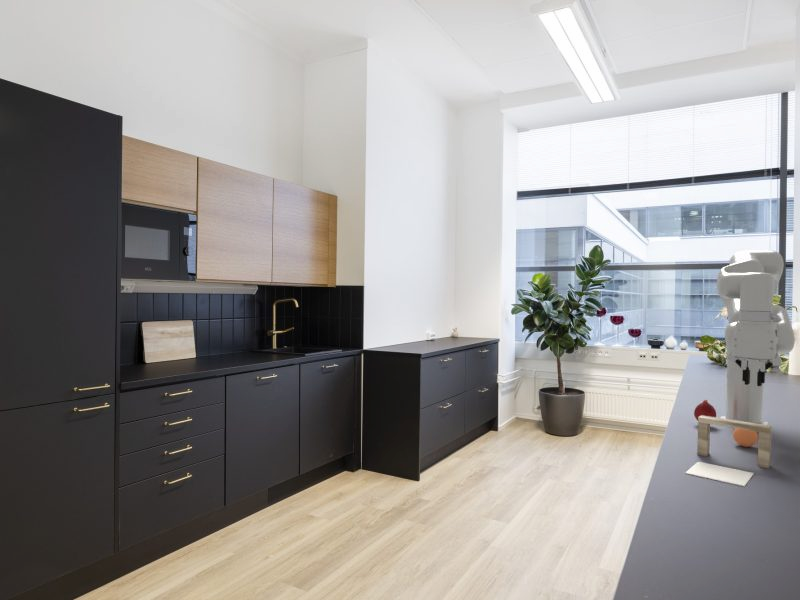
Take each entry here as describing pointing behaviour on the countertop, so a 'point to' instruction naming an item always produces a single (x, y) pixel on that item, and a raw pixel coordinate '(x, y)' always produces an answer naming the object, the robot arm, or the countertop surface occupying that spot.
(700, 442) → the bridge
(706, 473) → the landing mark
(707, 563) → the countertop surface
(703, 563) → the countertop surface
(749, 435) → the ball
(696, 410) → the onion
